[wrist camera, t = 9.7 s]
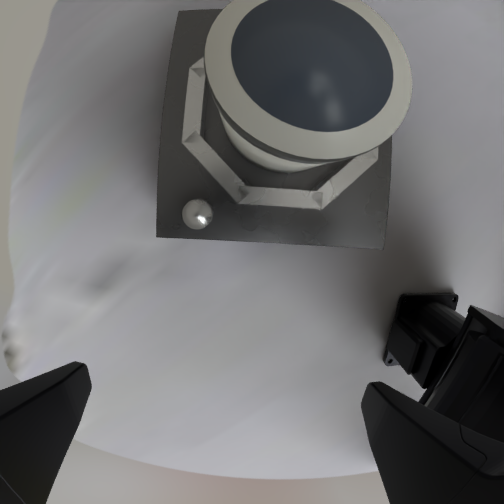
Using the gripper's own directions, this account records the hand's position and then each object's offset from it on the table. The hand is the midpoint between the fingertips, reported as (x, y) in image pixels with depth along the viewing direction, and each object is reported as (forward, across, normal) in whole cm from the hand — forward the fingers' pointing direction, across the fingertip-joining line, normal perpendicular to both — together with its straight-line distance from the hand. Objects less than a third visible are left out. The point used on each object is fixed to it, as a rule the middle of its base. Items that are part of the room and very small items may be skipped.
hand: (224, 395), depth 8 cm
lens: (+8, -2, -10) cm, 12 cm away
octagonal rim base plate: (+12, -2, -10) cm, 16 cm away
